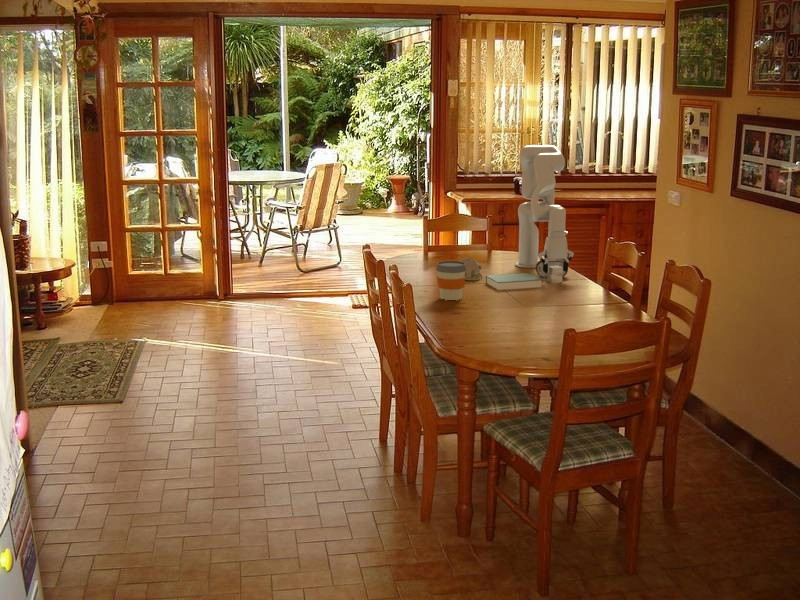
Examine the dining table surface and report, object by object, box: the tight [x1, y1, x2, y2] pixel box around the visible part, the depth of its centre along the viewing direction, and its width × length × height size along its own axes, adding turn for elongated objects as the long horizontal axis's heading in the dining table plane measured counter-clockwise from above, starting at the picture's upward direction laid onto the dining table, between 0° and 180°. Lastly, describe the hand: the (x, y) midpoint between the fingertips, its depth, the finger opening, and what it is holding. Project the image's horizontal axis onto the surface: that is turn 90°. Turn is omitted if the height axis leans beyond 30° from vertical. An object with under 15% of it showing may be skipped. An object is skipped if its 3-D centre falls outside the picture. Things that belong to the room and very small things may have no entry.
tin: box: [535, 259, 569, 278], centre depth 436 cm, size 15×3×8 cm, turn 84°
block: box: [546, 266, 563, 284], centre depth 426 cm, size 5×5×7 cm
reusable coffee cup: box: [436, 260, 466, 301], centre depth 393 cm, size 12×12×15 cm
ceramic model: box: [459, 256, 483, 281], centre depth 434 cm, size 14×11×10 cm
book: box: [485, 272, 543, 291], centre depth 419 cm, size 15×21×4 cm
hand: (555, 271), depth 425 cm, fingers open, 9 cm apart
